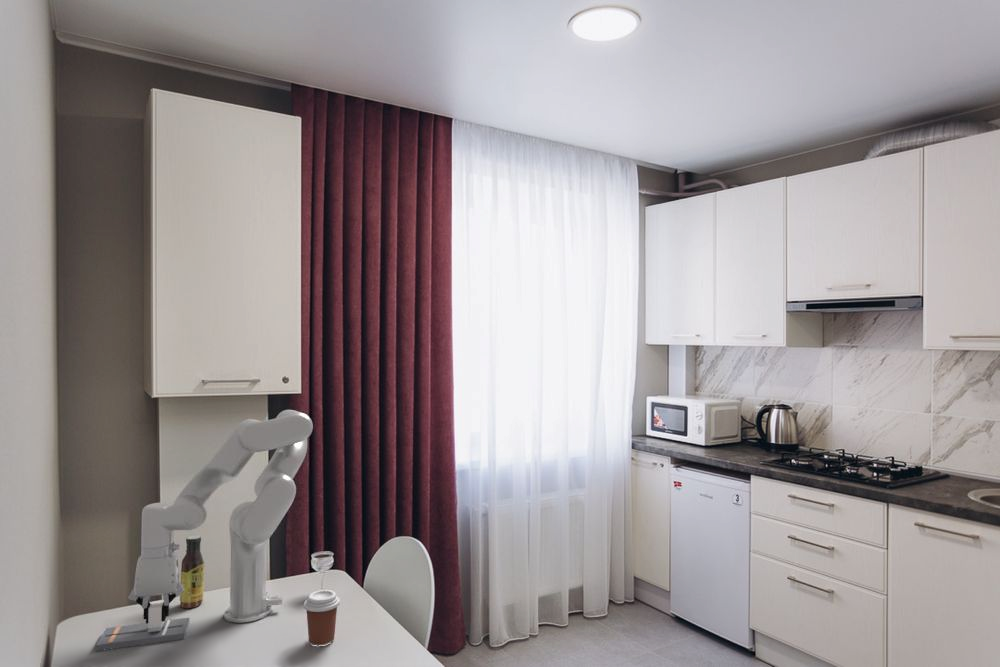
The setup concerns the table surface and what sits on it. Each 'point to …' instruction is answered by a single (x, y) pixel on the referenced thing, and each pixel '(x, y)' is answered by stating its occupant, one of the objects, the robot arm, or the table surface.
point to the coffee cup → (321, 616)
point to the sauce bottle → (192, 574)
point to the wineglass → (322, 562)
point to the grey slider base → (142, 634)
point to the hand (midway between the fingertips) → (156, 619)
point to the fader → (155, 616)
